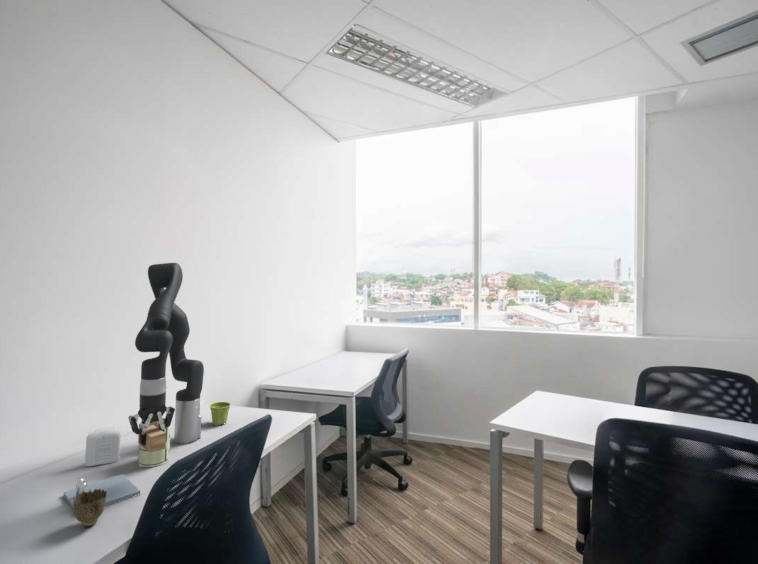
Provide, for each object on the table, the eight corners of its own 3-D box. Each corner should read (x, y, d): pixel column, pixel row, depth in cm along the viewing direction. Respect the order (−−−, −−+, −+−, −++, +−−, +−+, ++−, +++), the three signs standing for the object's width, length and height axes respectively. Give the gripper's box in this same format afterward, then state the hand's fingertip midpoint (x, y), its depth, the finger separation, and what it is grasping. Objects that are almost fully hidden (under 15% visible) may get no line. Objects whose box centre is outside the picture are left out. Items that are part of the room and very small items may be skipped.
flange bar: (138, 443, 135) (138, 428, 135) (152, 439, 139) (152, 424, 138) (150, 452, 129) (151, 437, 129) (165, 448, 132) (165, 433, 132)
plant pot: (203, 425, 185) (204, 406, 185) (217, 418, 194) (218, 400, 194) (221, 428, 183) (221, 409, 183) (234, 421, 192) (235, 403, 192)
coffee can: (134, 460, 149) (135, 421, 149) (164, 452, 156) (165, 416, 156) (142, 470, 142) (143, 430, 141) (173, 462, 149) (175, 423, 149)
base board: (122, 477, 136) (122, 474, 136) (139, 494, 126) (140, 490, 126) (63, 495, 124) (63, 492, 124) (77, 516, 114) (78, 511, 114)
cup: (83, 516, 114) (84, 488, 114) (111, 516, 115) (112, 488, 115) (65, 533, 107) (66, 502, 107) (95, 532, 107) (96, 502, 107)
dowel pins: (81, 494, 123) (82, 477, 123) (86, 500, 120) (87, 482, 120) (75, 496, 122) (75, 479, 122) (79, 502, 119) (80, 484, 119)
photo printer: (119, 457, 150) (120, 424, 150) (119, 462, 147) (121, 428, 147) (85, 463, 145) (86, 428, 145) (84, 468, 141) (85, 433, 141)
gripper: (170, 384, 141) (169, 433, 141) (124, 392, 130) (123, 445, 130) (180, 389, 136) (178, 439, 137) (133, 398, 125) (132, 453, 126)
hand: (151, 442), depth 134 cm, fingers closed on flange bar, 4 cm apart
